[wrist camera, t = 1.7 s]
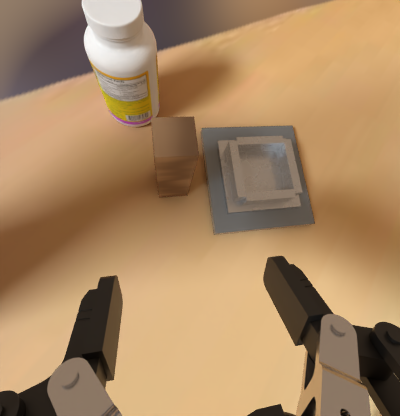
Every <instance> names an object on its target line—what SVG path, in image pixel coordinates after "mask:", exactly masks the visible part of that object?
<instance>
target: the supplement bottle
mask: <svg viewBox="0 0 400 416" xmlns="http://www.w3.org/2000/svg"><path fill="white" fill-rule="evenodd" d="M82 7H83V10H84V13H85V16H86V20H87V23H88V27H87V28H86V31H85V35H84V45H85V49H86V52H87V55H88V58H89V60H90V63H91V65H92V68H93V70H94V73H95V76H96V78H97V81H98V83H99V86H100V88H101V91H102V94H103V96H104V99H105V101H106V104H107V106H108V109H109V111H110V113H111V115H112V116H113V117H114V118H115V119H116V120H117V121H118V122H119V123H121V124H123V125H126V126H130V127H140V126H144V125H147V124H149V123H150V122H151V117H156V116H157V114H158V112H159V107H160V99H159V83H158V65H157V48H156V40H155V37H154V34H153V32H152V31H151V29H150V27H149V26H148V25H147V24H146V23H145V22H144V16H143V9H142V3H141V0H82Z"/></svg>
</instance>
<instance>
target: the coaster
mask: <svg viewBox="0 0 400 416" xmlns="http://www.w3.org/2000/svg"><path fill="white" fill-rule="evenodd" d="M257 136H283V138H286V139H291V143H292V147H293V152H294V156H295V161H296V165H297V169H298V174H299V178H300V183H301V187H302V192H303V193H301V194H299V198H300V203H301V207H298V208H287V209H276V210H264V211H253V212H242V213H231V214H227V209H226V202H225V195H224V189H223V182H222V175H221V168H220V161H219V154H218V148H217V141H223V140H235V139H236V137H257ZM201 139H202V147H203V155H204V162H205V170H206V177H207V185H208V193H209V200H210V208H211V216H212V223H213V231H214V235H216V234H225V233H235V232H245V231H254V230H264V229H274V228H283V227H293V226H303V225H311V224H315V222H314V217H313V213H312V209H311V204H310V200H309V196H308V191H307V187H306V183H305V178H304V174H303V170H302V165H301V161H300V157H299V152H298V148H297V144H296V139H295V135H294V131H293V126H261V127H223V128H202V129H201Z"/></svg>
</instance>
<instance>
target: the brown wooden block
mask: <svg viewBox="0 0 400 416" xmlns="http://www.w3.org/2000/svg"><path fill="white" fill-rule="evenodd" d="M151 124H152V136H153V149H154V160H155V169H156V177H157V185H158V193H159V197H172V196H185V195H187V194H188V191H189V187H190V184H191V181H192V177H193V174H194V170H195V167H196V163H197V160H198V157H199V153H198V145H197V137H196V129H195V121H194V117H151Z"/></svg>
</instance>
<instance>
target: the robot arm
mask: <svg viewBox="0 0 400 416" xmlns="http://www.w3.org/2000/svg"><path fill="white" fill-rule="evenodd" d="M263 280H264V285H265V288H266V290H267V291H268V293H269V295H270V297H271V299H272V301H273V303H274V305H275V307H276V309H277V311H278V313H279V315H280V317H281V319H282V321H283V322H284V324H285V326H286V328H287V330H288V332H289V334H290V336H291V338H292V340H293V342H294V344H295V346H298V345H303V344H304V346H305V348H306V353H305V361H304V371H303V380H302V389H301V395H300V399H299V402H298V406H297V412H296V415H294V414H290V413H287V412H283V409H282V407H281V404H279V405H274V406H270V407H266V408H261V409H257V410H255V411H254V412H252V413H251V414H249V415H248V416H371V414H370V404H369V395H370V397H371V398H372V400H373V401H374V403H375V405H376V406H377V408H378V410H379V411H380V413H381V414H382V416H400V328H399V327H397V326H395V325H393V324H391V323H387V322H379V323H377V324H376V325H375V327H374V328H367V327H361V326H355V325H351V324H350V323H349V322H348V321H347V320H346V319H344V318H343V317H341V316H338V315H335V314H333V312H332V311H331V310H330V308H329V307H328V306H327V304H326V303H325V302H324V300H323V299H322V298H321V296H320V295H319V293H318V292H317V291H316V289H315V288H314V287H313V286H312V284H311V283H310V281H309V280H308V278H307V277H306V276H305V274H304V273H303V272H302V270H300V269H299V268H298V267H296V266H295V265H294V264H290V265H289V263H288V262H287V260H286V259H285V258H284V257H283V256H275V257H269V258H268V259H267V263H266V268H265V272H264V277H263ZM122 305H123V301H122V293H121V289H120V285H119V281H118V277H117V276H107V277H101V278H100V280H99V283H98V287H97V289H93V290H89V291H88V292H87V294H86V295H85V296H84V298H83V299H82V301H81V304H80V307H79V313H78V314H77V318H76V322H75V324H74V328H73V331H72V334H71V338H70V341H69V345H68V348H67V351H66V355H65V357H64V360H63V362H62V364H61V365H60V366H59V367H58V368H57V369H56V370H55V371H54V373H53V374H52V375H51V376H50V377H49V378H47V379H46V380H45V381H43V382H41V383H39V384H37V385H35V386H33V387H31V388H29V389H27V390H25V391H23V392H21V393H19V394H17V393H15V392H14V391H2V392H0V416H122V414H121V413H120V411H119V410H118V408H117V407H116V406H115V405H114V403H113V402H112V400H111V399H110V397H109V395H108V394H107V392H106V391H105V387H106V381H110V380H114V374H115V365H116V357H117V348H118V340H119V332H120V323H121V315H122ZM395 375H396V376H397V377H396V376H395ZM398 379H399V380H398ZM361 382H362V383H361ZM368 393H369V394H368Z"/></svg>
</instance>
